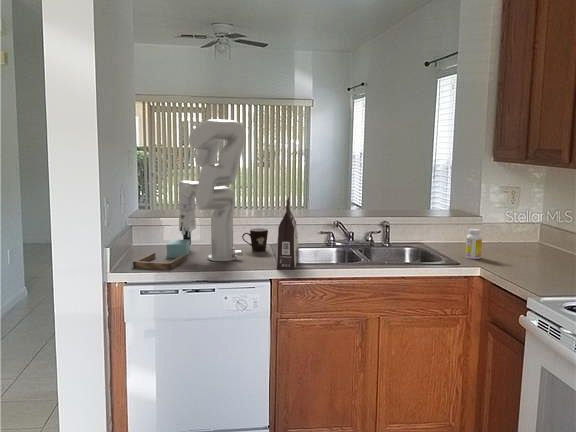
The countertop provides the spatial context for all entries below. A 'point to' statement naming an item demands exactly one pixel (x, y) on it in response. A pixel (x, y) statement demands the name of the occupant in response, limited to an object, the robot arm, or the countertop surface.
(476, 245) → the supplement bottle
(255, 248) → the coffee mug
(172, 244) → the carton
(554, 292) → the countertop surface
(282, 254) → the protein powder
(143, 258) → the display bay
